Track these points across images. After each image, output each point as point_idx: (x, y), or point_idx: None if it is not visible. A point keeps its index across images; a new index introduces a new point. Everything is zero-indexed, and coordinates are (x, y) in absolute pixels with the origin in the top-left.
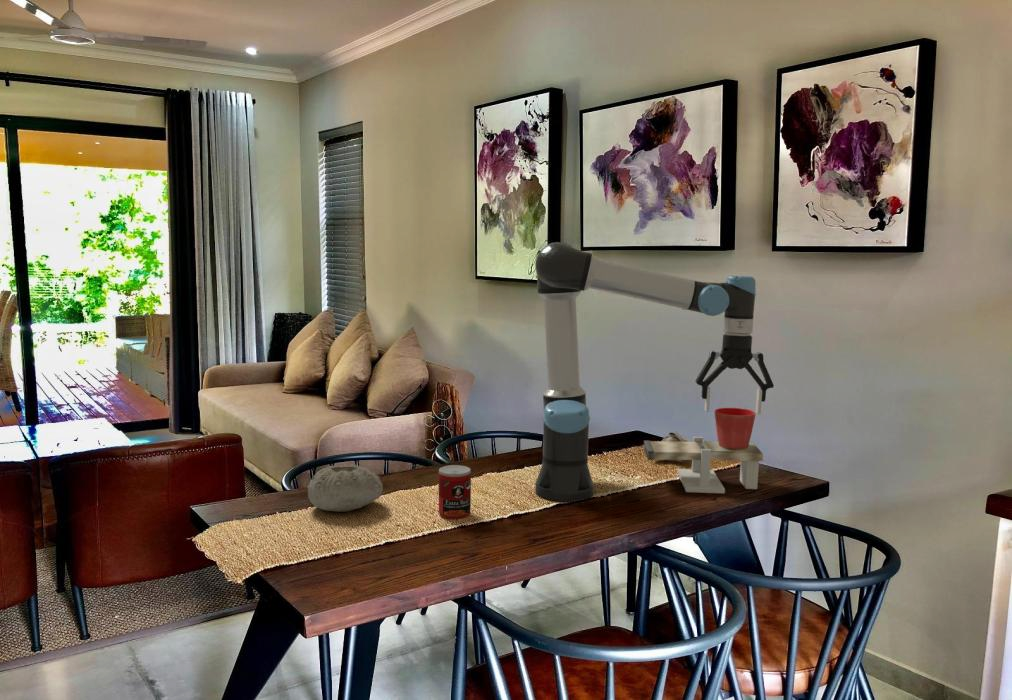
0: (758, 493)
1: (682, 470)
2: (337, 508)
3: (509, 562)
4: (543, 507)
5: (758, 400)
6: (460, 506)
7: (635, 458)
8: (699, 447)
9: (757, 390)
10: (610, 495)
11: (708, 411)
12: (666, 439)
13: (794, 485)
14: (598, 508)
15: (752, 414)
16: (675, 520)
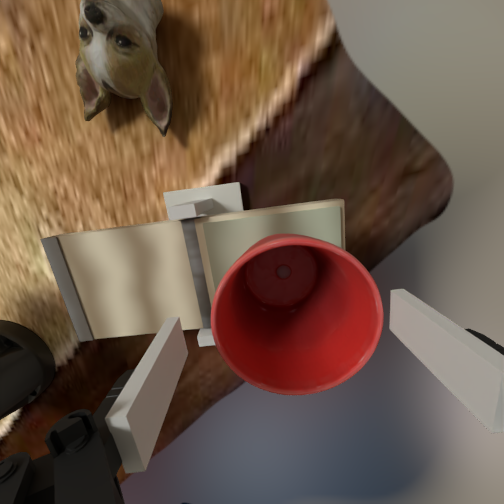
0: None
1: (174, 203)
2: None
3: None
4: (10, 418)
5: (433, 370)
6: None
7: (52, 81)
8: (193, 281)
9: (487, 376)
10: (79, 353)
11: (185, 355)
12: (91, 60)
13: (393, 221)
14: (80, 407)
15: (361, 366)
16: (186, 425)
